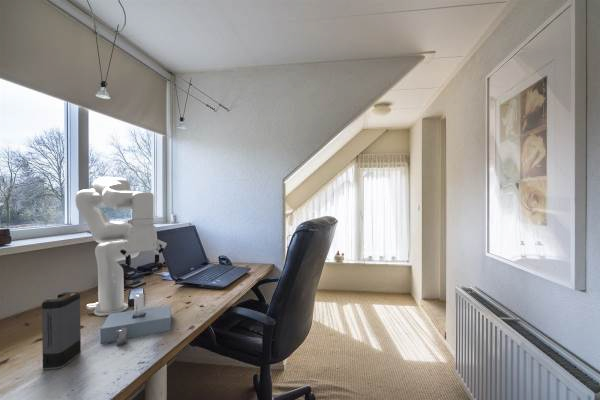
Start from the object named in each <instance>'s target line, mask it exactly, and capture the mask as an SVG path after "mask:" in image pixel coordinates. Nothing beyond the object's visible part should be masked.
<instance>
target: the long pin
mask: <svg viewBox="0 0 600 400" xmlns="http://www.w3.org/2000/svg"><path fill="white" fill-rule="evenodd" d="M144 294H145V293H137V294H134V296H133V308H134V309H133V310H134V318H140V317H144V309H145V302H144V301H145V300H144V297H145V295H144Z"/></svg>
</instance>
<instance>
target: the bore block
mask: <svg viewBox="0 0 600 400" xmlns="http://www.w3.org/2000/svg"><path fill="white" fill-rule="evenodd" d="M171 322H172V304H168V305H167V304H166V305H161V306H153V307H148V308H147V307H146V308H144V317H140V318H134V309H133V310H127V311H122V312H119V313H112V314H109V315H107V317H106V319H105V321H104V322H103V323H102V325H101V327H100V328H99V332H100V333H99V337H100V340H99V342H100V344H104V343H108V342H113V341H114V342H115V341H116V330H118V329H120V328H127V339H131V338H136V337H141V336H149V335H153V334H158V333H164V332H169V331H171Z"/></svg>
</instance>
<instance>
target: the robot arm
mask: <svg viewBox="0 0 600 400" xmlns="http://www.w3.org/2000/svg"><path fill="white" fill-rule="evenodd" d="M92 187H93V188H89V189H88V188H87V189H82V190H79V191H78V192H77V193H76V195H75V206H76V209H77V210H78V212H79V214H80V215H81V216H82V218H83V219H84V220H85V222H86V224H87V227H88V229H89V232H90V234H91V237H92V238H93V241H95V242H96V243H98V244H97V245H96V246H95V249H94V255H95V259H96V264H97V284H98V285H97V287H98V288H97V290H98V291H97V294H98V297H97V298H98V301H96V302H95V303H87V304H86V309H87V310H90V311H91V310H93V309H94V311H93V314H94V315H95V316H99V317H104V316H109V314H112V313H119V312H125V310H127V309H128V308H129V305H128V303H125V291H124V289H125V287H124V268H123V266H122V265H120V264H119V263H118V262H119V261H123V260H124V261H125V265H126V267H127V268H128V267H131V264H132V263H131V262H132V261H131V260H132V259H133V258H137V256H139V254H140V253H141V252H142V253H144V252H153V253H154V265H155V266H157V265H158V263H159V262H160V254H161V253H162V252H163V251H164V250H165V248H166V247H167V245H168V244H167V242H165V241H162V240H160V239H158V234H157V227H156V225H154V224H155V223H154V221H155V220H154V217H155V216H154V211H155V210H154V209H155V207H154V205H155V204H154V198H155V197H154V193H152V192H150V191H148V192H147V191H131V183H130V181H128V180H127V179H126V178H123V177H111V176H109V177H108V176H107V177H106V176H101V177H98V178H96V179H95V180H94V181H93V182H92ZM99 207H107V208H109V209H111V210H115V211H122V210H123V211H125V210H131V212H132V213H131V218H130V219H128V220H127V221H111V220H110V219H109V216H108V215H107V214H106V212H105V211H103V210H102V209H100V208H99ZM158 245H161V247H160V248H159V249H158Z"/></svg>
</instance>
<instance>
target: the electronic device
mask: <svg viewBox="0 0 600 400" xmlns="http://www.w3.org/2000/svg"><path fill="white" fill-rule="evenodd" d="M41 325H42V326H41V329H42V331H41V332H42V334H41V335H42V336H41V338H42V342H41V343H42V345H41V349H42V369H43V370H59V369H62V368H64V367H65V366H66V365H68V364H69V363H70V362H72V361H73V360H74V359H75V358H77V357H78V356H79V355H80V354H81V352H82V351H81V349H82V348H81V347H82V343H81V293H80V292H79V291H71V292H70V291H69V292H62V293H59V294H58V295H57V297H56V298H55V299H54V298H53V299H45V300H44V301H42V302H41Z"/></svg>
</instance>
